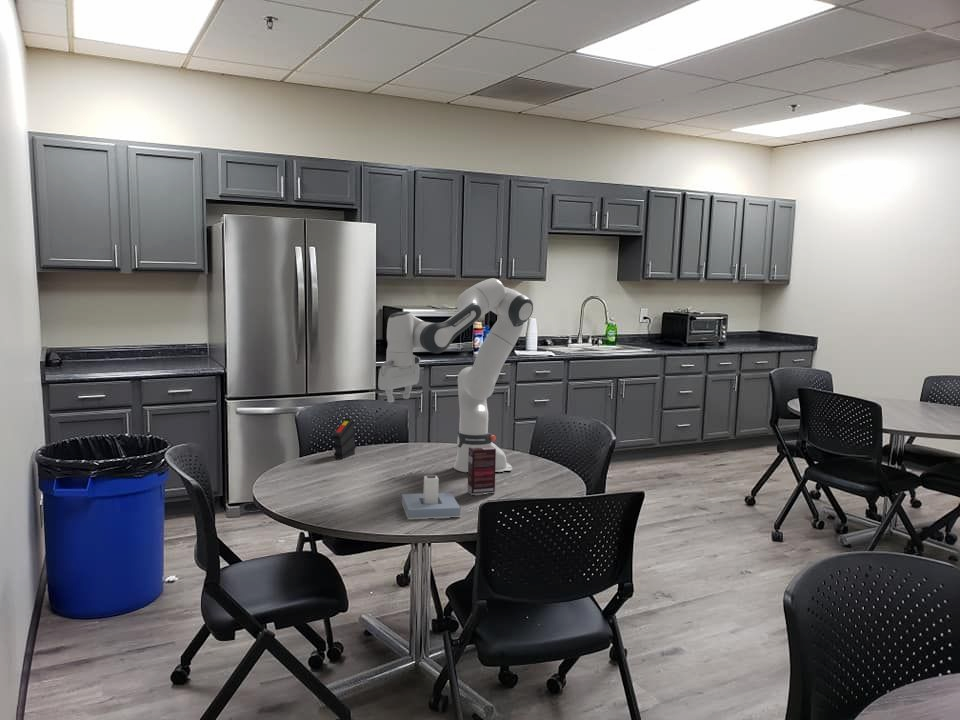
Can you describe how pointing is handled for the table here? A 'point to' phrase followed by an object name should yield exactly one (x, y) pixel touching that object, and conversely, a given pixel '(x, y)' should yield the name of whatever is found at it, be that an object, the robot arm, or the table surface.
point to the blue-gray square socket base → (430, 506)
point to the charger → (430, 489)
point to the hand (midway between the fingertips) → (398, 400)
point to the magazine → (344, 439)
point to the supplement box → (481, 470)
